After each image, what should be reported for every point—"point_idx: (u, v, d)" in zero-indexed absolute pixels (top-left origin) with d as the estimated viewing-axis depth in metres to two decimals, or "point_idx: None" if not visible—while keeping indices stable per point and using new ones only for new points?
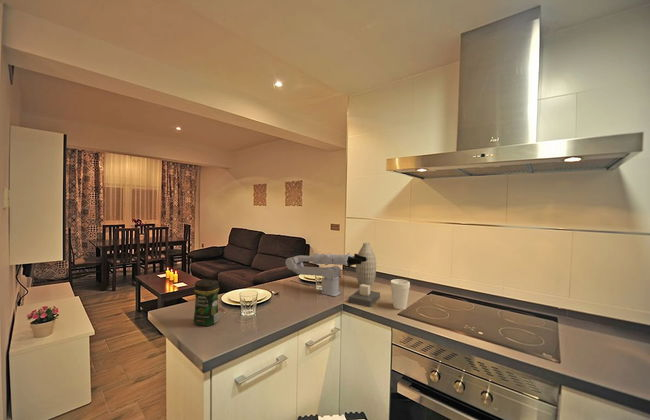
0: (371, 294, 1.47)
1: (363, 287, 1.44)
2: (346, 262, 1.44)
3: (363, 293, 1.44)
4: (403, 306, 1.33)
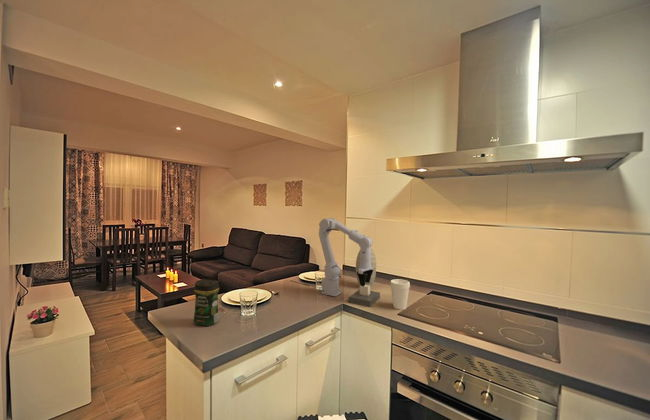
0: (371, 294, 1.47)
1: (363, 287, 1.44)
2: None
3: (363, 293, 1.44)
4: (403, 306, 1.33)
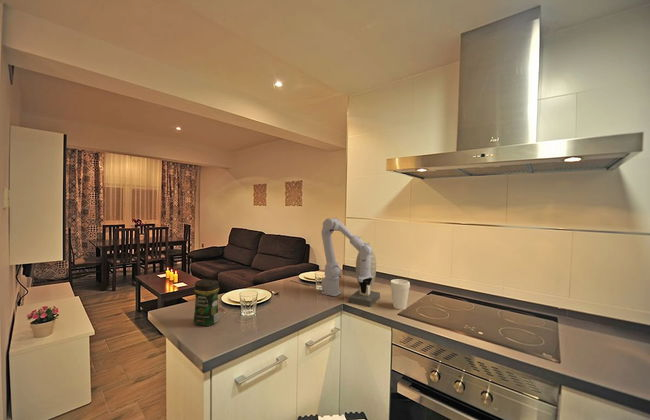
0: (371, 294, 1.47)
1: None
2: (360, 281, 1.40)
3: (363, 293, 1.44)
4: (403, 306, 1.33)
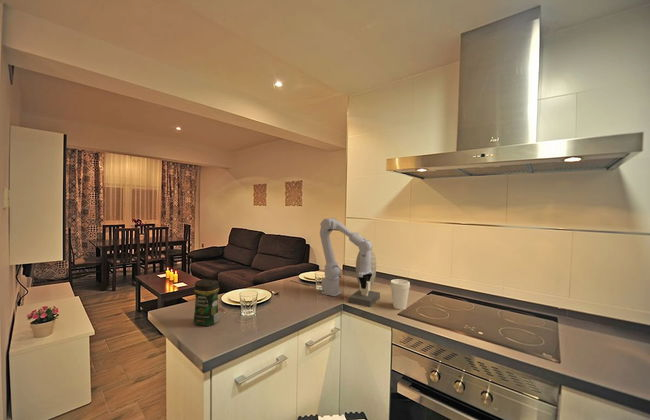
0: (371, 294, 1.47)
1: None
2: (360, 276, 1.40)
3: (363, 289, 1.44)
4: (403, 306, 1.33)
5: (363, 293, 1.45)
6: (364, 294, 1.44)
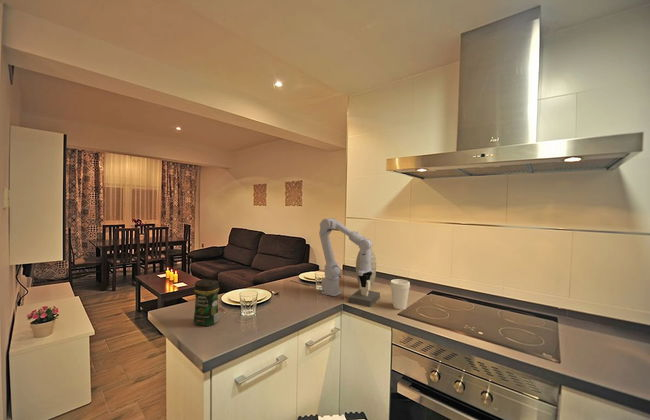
0: (371, 294, 1.47)
1: None
2: None
3: (363, 288, 1.44)
4: (403, 306, 1.33)
5: (363, 292, 1.45)
6: (364, 293, 1.44)
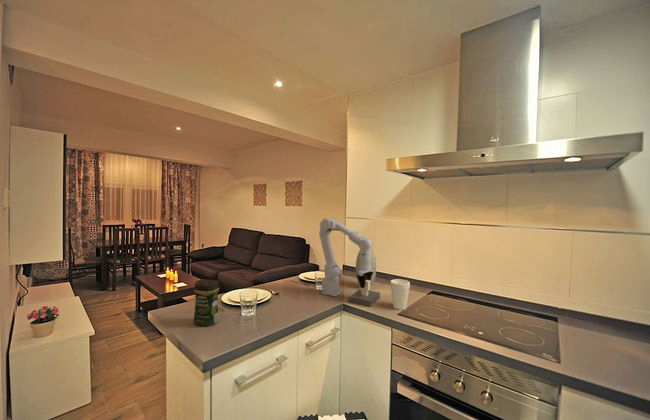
0: (371, 294, 1.47)
1: None
2: None
3: (363, 288, 1.44)
4: (403, 306, 1.33)
5: (363, 292, 1.45)
6: (364, 293, 1.44)
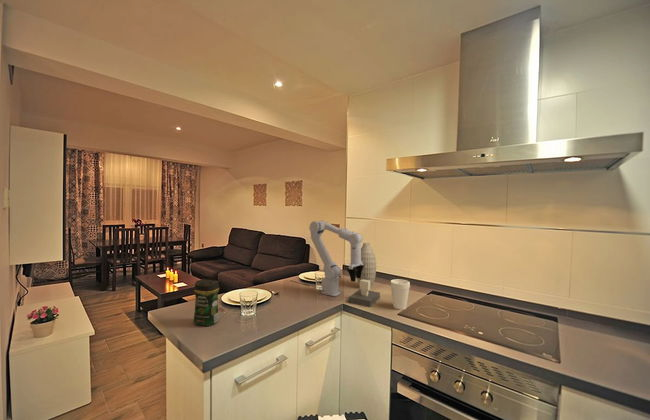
0: (371, 294, 1.47)
1: (363, 282, 1.44)
2: (350, 268, 1.43)
3: (363, 288, 1.44)
4: (403, 306, 1.33)
5: (363, 292, 1.45)
6: (364, 293, 1.44)
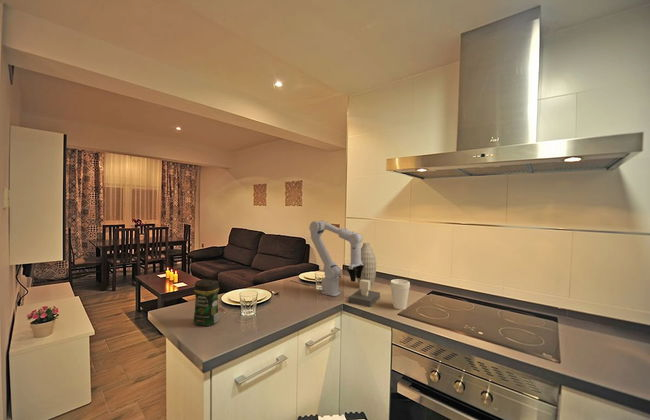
0: (371, 294, 1.47)
1: (363, 282, 1.44)
2: (350, 268, 1.43)
3: (363, 288, 1.44)
4: (403, 306, 1.33)
5: (363, 292, 1.45)
6: (364, 293, 1.44)
